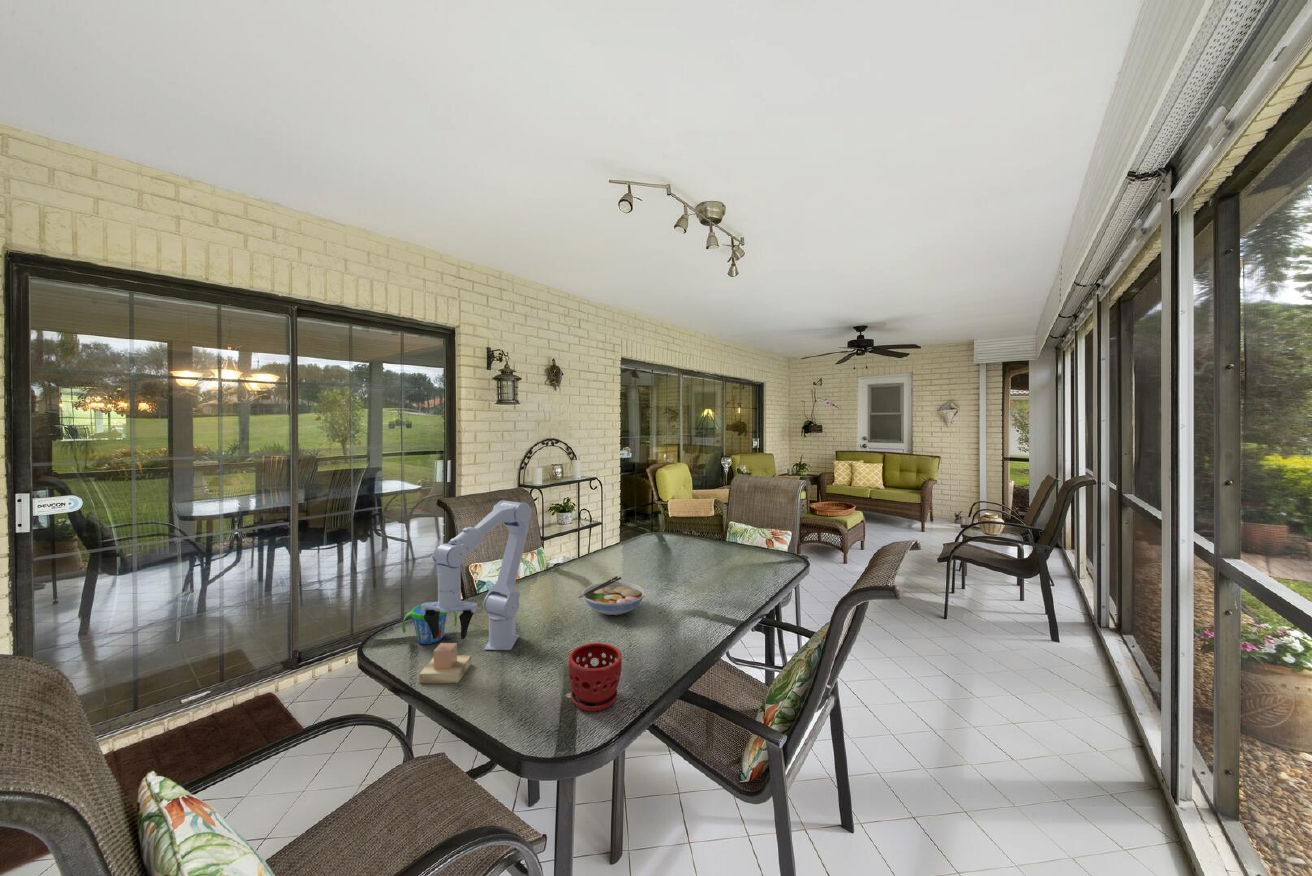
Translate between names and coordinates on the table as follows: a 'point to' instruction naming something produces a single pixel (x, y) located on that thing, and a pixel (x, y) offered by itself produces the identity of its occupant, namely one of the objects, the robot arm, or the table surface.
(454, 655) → the block
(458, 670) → the base
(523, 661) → the table surface
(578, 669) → the plant pot
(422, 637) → the snack cup
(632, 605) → the ramen bowl
